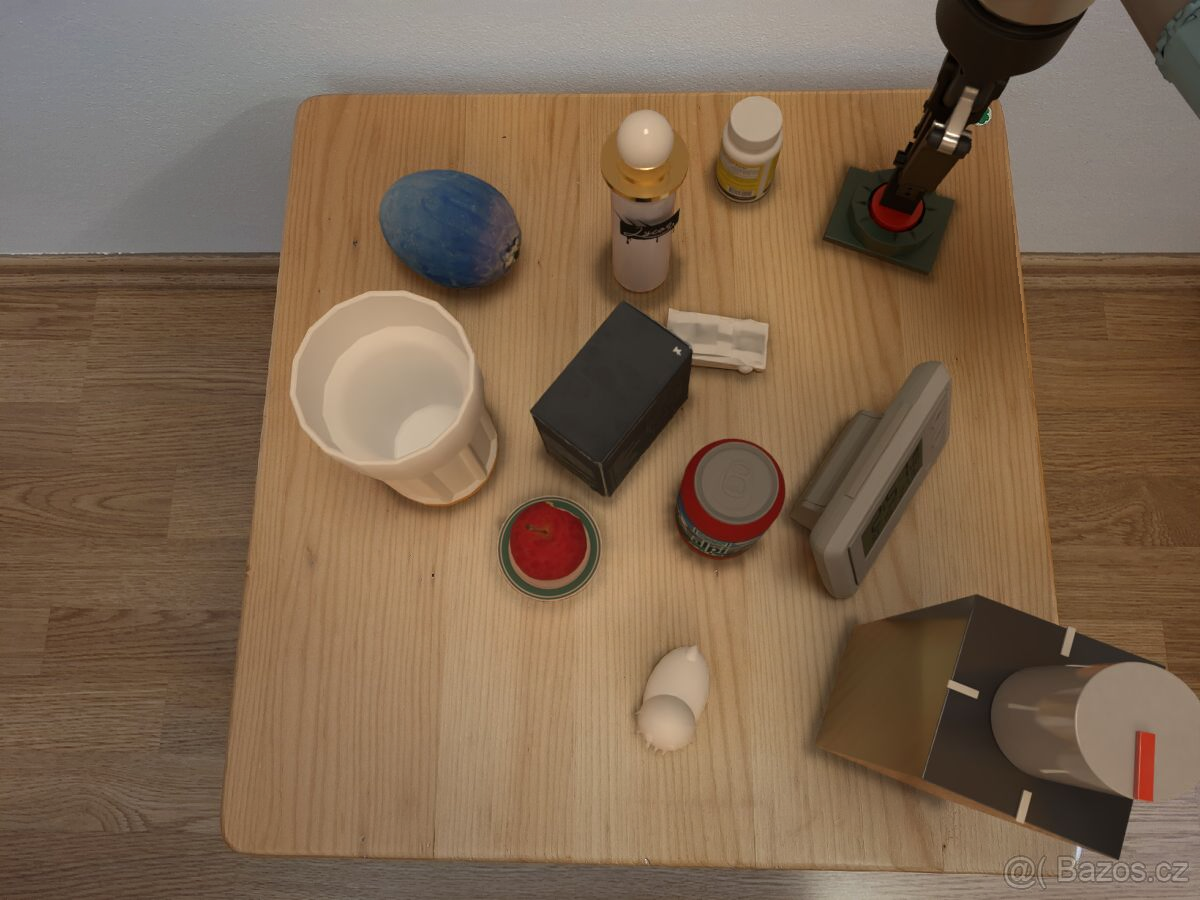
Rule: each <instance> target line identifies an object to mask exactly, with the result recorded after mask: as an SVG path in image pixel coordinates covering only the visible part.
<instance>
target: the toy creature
mask: <svg viewBox="0 0 1200 900" xmlns="http://www.w3.org/2000/svg"><path fill="white" fill-rule="evenodd" d="M709 667H710V666H709V663H708V661H707V659H706V657H705V656H704V654H703V653H702V652H701V651H700V650H699V648H698V645H697V644H695V645H693V646H688V645H682V646H680V647H676V648H673V649H672V650H670V651H669V652H668V653H666V654H665V655H664V656H663V657H662V658H661V659H660V660H659V662H658V663H657V664H656V665H655V667H654V668H653V670H652V672H651V674H650V676H649V677H648V680H647V682H646V686H645V688H644V692H643V695H642V705H641V707H640V709H639V711H636V712H633V713H632V715H637V725H638V729H637V730H636V731H635V732H634V733H633V734H634V735H635V734H640V733H641V736H642V737H643V738H644V740H645V741H646V742H645V748H644V752H646V751H647V750H648V749H649V747H650V746H652V747H653V753H652V754H653V756H654V755H655V754H656V752H657V751H658V749H659V750H661V755H660V759H662V758H663V757H664V755H665V753H667V752H673V751H678V750H680V751H681V752H683V748H685V747H686V746H687V745H689V744H692V745H694V743H693V741H692V740H693V738H694V737H695V734H696V729H697V724H698V722H699V720H700V718H701V716H702V714H703V713H704V710H705V709H706V705H707V701H708V698H709V695H710V689H711V673H710V668H709Z"/></svg>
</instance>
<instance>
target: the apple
mask: <svg viewBox="0 0 1200 900" xmlns="http://www.w3.org/2000/svg"><path fill="white" fill-rule="evenodd" d="M601 533H602V532H601V530H600V528H599V525H598V523H597V521H596V520H595V518H594V517H593V515H592V513H590V512H589V511H588V510H587V509H586V508H585V507H584V506H583V505H582V504H580V503H579V502H577V501H575V500H573V499H570V498H568V497H564V496H559V495H541V496H537V497H533V498H530V499H528V500H526V501H524V502H523V503H521V504H519V505H518V506H516V507H515V508H514V509H513V510H512V511H511V512H510V513H509V515H507V517H506V518H505V520H504V521H503V523H502V525H501V527H500V530H499V532H498V536H497V539H496V540H497V541H496V560H497V563H498V566H499V567H498V568H499V569H500V570H501V573H502V575H503V578H504V579H505V581H507V582H508V584H509V585H510V586H511V587H512V588H513V589H514V590H516V591H517V592H519V593H520V594H521V595H523V596H525V597H527V598H530V599H533V600H536V601H540V602H541V601H542V602H555V601H561V600H564V599H568V598H570V597H573V596H575V595H576V594H578V593H579V592H581V591H582V590H583V589H585V587H587V586H588V584H589V583H591V581H592V580H593V578H594V577H595V575H596V573H597V572H598V569H599V567H600V564H601V562H602V556H603V539H602V534H601Z"/></svg>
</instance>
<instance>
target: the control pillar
mask: <svg viewBox="0 0 1200 900" xmlns="http://www.w3.org/2000/svg"><path fill="white" fill-rule="evenodd" d="M1113 662H1142V663H1148V664H1152V665H1155V666H1158V667H1160V668H1163V669H1165V670H1166V665H1164V664H1161V663H1159V662H1155V661H1153V660H1150V659H1147V658H1145V657H1142V656H1140V655H1137V654H1135V653H1132V652H1129V651H1128V650H1127V651H1126V650H1124V649H1121V648H1119V647H1117V646H1114V645H1111V644H1109V643H1106V642H1103V641H1101V640H1098V639H1095V638H1093V637H1090V636H1087V635H1085V634H1082V633H1080V632H1078V631H1077V628H1076V627H1073V626H1070V625H1067V626H1066V627H1064V626H1061V625H1059V624H1056V623H1054V622H1052V621H1049V620H1046V619H1043V618H1041V617H1038V616H1036V615H1033V614H1030V613H1027V612H1026V611H1022V610H1020V609H1017V608H1014V607H1012V606H1010V605H1007V604H1004V603H1001V602H999V601H996V600H995V599H991V598H989V597H986V596H984V595H981V594H978V593H975V594H972V595H967V596H963V597H961V598H957V599H953V600H952V599H951V600H949V601H945V602H942V603H937V604H934V605H930V606H926V607H921V608H918V609H915V610H911V611H907V612H903V613H899V614H896V615H892V616H888V617H884V618H880V619H876V620H873V621H868V622H866V623H865V622H864V623H862V624H857V625H854V626H852V629H851V632H850V635H849V637H848V640H847V644H846V647H845V650H844V653H843V656H842V659H841V663H840V665H839V669H838V671H837V675H836V678H835V680H834V684H833V687H832V690H831V693H830V695H829V699H828V702H827V705H826V708H825V711H824V714H823V717H822V720H821V723H820V726H819V729H818V732H817V735H816V738H815V741H814V744H813V746H815V747H817V748H820V749H822V750H823V751H826V752H830V753H831V754H834V755H837V756H838V757H841V758H843V759H846V760H848V761H851V762H853V763H855V764H858V765H861V766H863V767H866V768H868V769H870V770H873V771H875V772H878V773H880V774H882V775H884V776H887V777H889V778H892V779H894V780H897V781H899V782H901V783H904V784H906V785H908V786H911V787H914V788H916V789H918V790H921V791H923V792H926V793H927V794H930V795H933V796H935V797H938V798H941V799H942V800H943V799H944V800H946V801H950V802H952V803H954V804H958V805H961V806H964V807H966V808H969V809H972V810H974V811H977V812H979V813H982V814H985V815H988V816H991V817H994V818H996V819H1000V820H1002V821H1006V822H1008V823H1011V824H1014V825H1017V826H1020V827H1022V828H1025V829H1028V830H1031V831H1034V832H1036V833H1039V834H1042V835H1045V836H1047V837H1051V838H1053V839H1056V840H1058V841H1061V842H1065V843H1066V844H1069V845H1074V846H1076V847H1079V848H1081V849H1084V850H1087V851H1089V852H1092V853H1096V854H1098V855H1101V856H1104V857H1106V858H1110V859H1112V860H1114V861H1120V858H1121V854H1122V849H1123V846H1124V841H1125V838H1126V833H1127V829H1128V826H1129V821H1130V816H1131V812H1132V807H1133V804H1134V801H1135V800H1133V799H1128V798H1124V797H1119V796H1115V795H1110V794H1106V793H1101V792H1097V791H1093V790H1088V789H1084V788H1079V787H1075V786H1070V785H1066V784H1061V783H1057V782H1052V781H1048V780H1044V779H1040V778H1036V777H1033V776H1031V775H1028V774H1027V773H1025V772H1023V771H1021V770H1020V769H1019V768H1017V767H1016V766H1015V765H1013V764H1012V763H1011V762H1010V761H1009V760H1008V759H1007V757H1006V756H1005V755H1004V754H1003V752H1002V751H1001V749H1000V748H999V746H998V744H997V742H996V739H995V737H994V734H993V730H992V725H991V708H992V703H993V699H994V696H995V694H996V692H997V690H998V688H999V687H1000V685H1001V684H1002V683H1003V682H1004V681H1005V680H1006V679H1007V678H1008V677H1009V676H1010V675H1012V674H1013V673H1015V672H1017V671H1019V670H1021V669H1024V668H1028V667H1034V666H1051V665H1072V664H1093V663H1113Z"/></svg>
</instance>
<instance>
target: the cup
mask: <svg viewBox="0 0 1200 900" xmlns="http://www.w3.org/2000/svg"><path fill="white" fill-rule="evenodd" d="M290 371H291V372H290V382H289V383H290V384H289V394H288V396H289V399H290V402H291V404H292V407H293V410H294V413H295V416H296V418H297V421H298V423H299V427H300V429H301V430H302V431H303V432H304V433H305V434H306V435H307V436H308V437H309V438H310V439H311V440H312V442H314V443H315V444H316V445H317V446H318V448H319V449H321V451H322V452H323V453H324V454H326V456H329V457H330V458H332V459H333V460H335V461H336V462H338V463H339V464H340V465H342V466H344V467H345V468H347V469H349V470H351V471H355V472H357V473H359V474H362V475H365V476H367V477H370V478H372V479H375V480H378V481H381V482H383V483H384V484H385V485H387V486H389V487H391V489H393V490H395V491H396V492H397V493H399V494H400V495H401V496H403V497H405V498H406V499H408V500H411V501H413V502H414V503H418V504H421V505H425V506H427V507H428V506H429V507H430V506H431V507H448V506H453V505H456V504H458V503H460V502H463V501H465V500H467V499H469V498H471V497H473V496H474V495H475V494H476V493H477V492H478V491H480V489H482V487H484V486H485V484H486V483H487V482H489V480H490V478H491V477H492V474H493V471H494V469H495V467H496V464H497V461H498V455H499V454H498V453H499V436H498V434H497V431H496V429H495V426H494V424H493V421H492V419H491V416H490V414H489V411H488V408H487V407H486V404H485V399H484V397H485V378H484V375H483V373H482V370H481V367H480V365H479V362H478V359H477V355H476V354H475V352H474V349H473V346H472V345H471V342H470V340H469V337H468V335H467V333H466V331H465V328H464V326H463V324H462V323H461V322H459V320H457V319H456V318H455V317H454V316H453V315H452V314H451V313H450V312H449V311H448V310H447V309H446V308H445V307H444V306H443V305H442V304H441V303H440V302H439V301H436V300H434V299H431V298H428V297H425V296H422V295H419V294H417V293H414V292H410V291H408V290H405V289H402V290H400V289H399V290H398V289H397V290H368V291H366V292H364V293H361V294H359V295H356V296H353V297H350V298H349V299H346V300H344V301H341V302H338V303H337V304H335V305H333V306H332V308H330V309H328V311H327V312H326V313H325V314H323V315H322V316H321V317H319V319H318V320H316V321H315V322H314V323H313V324H312V325H311V326H310V327H309V328H308V329H307V331H306V333H305V335H304V336H303V339H302V341H301V343H300V345H299V347H298V349H297V351H296V353H295V355H294V357H293V358H292V361H291V370H290Z"/></svg>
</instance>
